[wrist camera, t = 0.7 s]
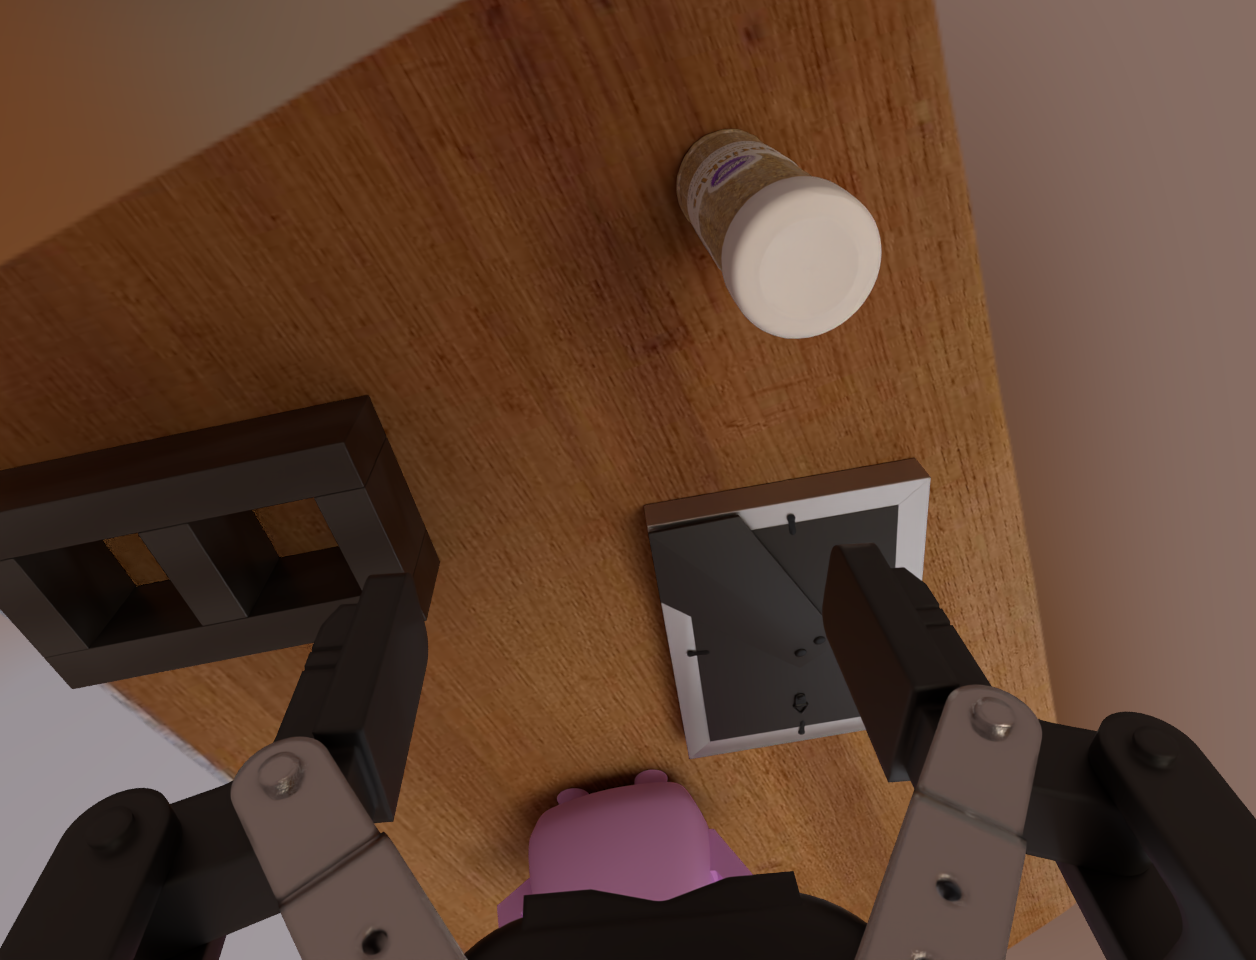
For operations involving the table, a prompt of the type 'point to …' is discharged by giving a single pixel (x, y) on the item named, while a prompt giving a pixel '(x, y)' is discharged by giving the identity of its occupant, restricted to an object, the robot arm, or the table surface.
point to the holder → (203, 542)
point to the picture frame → (772, 598)
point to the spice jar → (779, 234)
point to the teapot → (624, 845)
